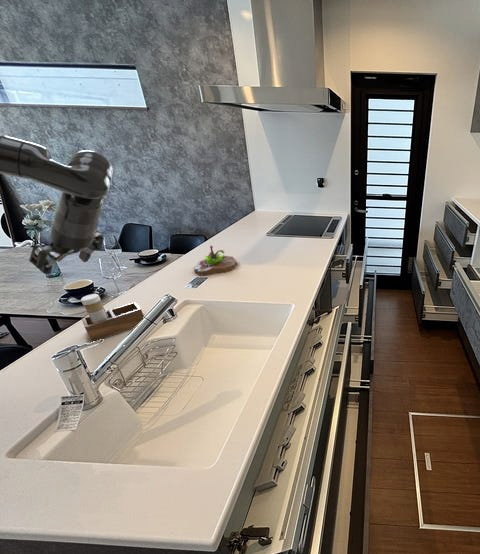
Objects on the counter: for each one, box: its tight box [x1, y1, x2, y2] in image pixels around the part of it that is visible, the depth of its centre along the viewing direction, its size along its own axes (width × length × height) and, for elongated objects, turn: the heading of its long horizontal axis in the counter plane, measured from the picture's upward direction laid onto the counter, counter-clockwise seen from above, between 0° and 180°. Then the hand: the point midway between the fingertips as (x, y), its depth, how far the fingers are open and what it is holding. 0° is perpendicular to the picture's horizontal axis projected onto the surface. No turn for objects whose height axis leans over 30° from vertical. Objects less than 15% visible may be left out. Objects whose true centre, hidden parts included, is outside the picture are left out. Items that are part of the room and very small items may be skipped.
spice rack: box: [81, 301, 145, 343], centre depth 106 cm, size 8×15×6 cm, turn 137°
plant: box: [193, 245, 238, 276], centre depth 156 cm, size 20×20×11 cm
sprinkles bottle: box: [80, 293, 109, 324], centre depth 102 cm, size 5×5×13 cm
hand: (64, 265), depth 80 cm, fingers open, 8 cm apart
